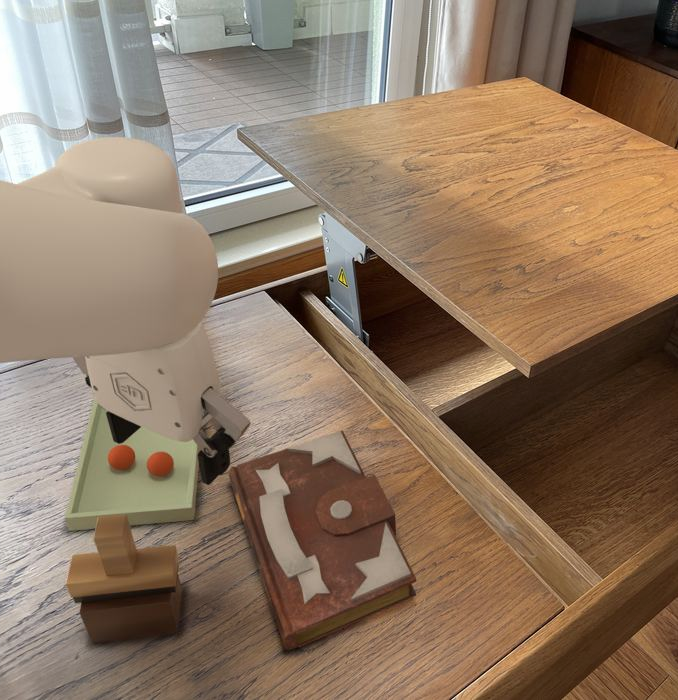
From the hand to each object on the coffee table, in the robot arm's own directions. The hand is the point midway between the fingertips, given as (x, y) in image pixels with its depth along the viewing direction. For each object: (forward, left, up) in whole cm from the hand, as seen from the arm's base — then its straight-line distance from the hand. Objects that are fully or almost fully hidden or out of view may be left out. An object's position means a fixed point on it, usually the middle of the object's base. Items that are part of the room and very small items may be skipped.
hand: (172, 453), depth 65 cm
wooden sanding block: (-4, +5, -14) cm, 15 cm away
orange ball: (+16, +9, -18) cm, 25 cm away
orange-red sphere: (+14, +5, -18) cm, 23 cm away
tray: (+21, +7, -20) cm, 30 cm away
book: (+3, -14, -20) cm, 24 cm away
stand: (-4, +5, -20) cm, 21 cm away
